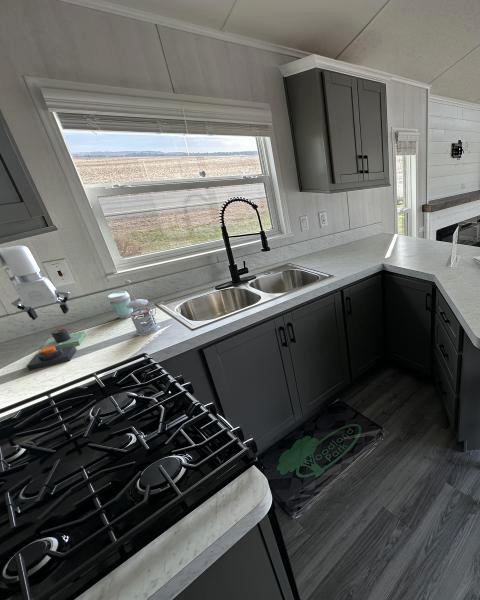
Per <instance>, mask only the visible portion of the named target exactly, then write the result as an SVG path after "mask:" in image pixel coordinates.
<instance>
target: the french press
mask: <svg viewBox="0 0 480 600" xmlns="http://www.w3.org/2000/svg"><path fill="white" fill-rule="evenodd" d="M131 282H132V281H131V280H130V279H126V280H125V281H124V283H125V284H128V286H129V289H130V291H131V293H132V296H133V298H134V300H130V301H131V302H129V303H128V304H127V305H126V307H127V308H129V309H130V308H132V309H135V310H133V312H132V313H131V315H132V316H131V317H130V318H131V320H132V324H133V325H134V328H135V330H136V331H135V333H134V335H135V334H136V335H135V336H137V335H139V336H138V337H142V336H141V335H144V336H148V334H149V335H151V333H152V334H154V333H156V332H158V331H159V330H160V329H161V328H160V327H161V326H160V325H159V324H158V323H157V320H156V319H155V316H156V313H157V308H156V306H155V304H154V303H153V302H150V301H149V300H148V299H142V298H139V299H136V297H135V295H134V292H133V290H132V288H131V284H130V283H131ZM144 306H146V307H144ZM147 306H148V307H149V306H150V307H151V309H150V308H148V307H147ZM141 307H143V308H141ZM151 310H152V311H151ZM154 310H155V312H154ZM153 313H154V314H153ZM159 328H160V329H159ZM158 329H159V330H158ZM157 330H158V331H157ZM155 331H156V332H155Z"/></svg>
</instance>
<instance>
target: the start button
mask: <svg viewBox="0 0 480 600" xmlns="http://www.w3.org/2000/svg"><path fill="white" fill-rule="evenodd" d="M55 351H57V350H56V348H55V346H49V347H46V348H44V349H42V350H41V349H40V352H41V353H42V354H43V355H47V354H51V353H53V352H55Z"/></svg>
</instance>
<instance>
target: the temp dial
mask: <svg viewBox="0 0 480 600" xmlns="http://www.w3.org/2000/svg"><path fill="white" fill-rule="evenodd" d="M69 334H70V333H69V331H68V328H67V327H59V328H56V329H54V330H52V331H50V335H51V337H52V338H54V340H55V341H56V342H57V343H59V342H64V341H67V340H69V339H70V338H71V337H70V335H69Z"/></svg>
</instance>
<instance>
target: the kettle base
mask: <svg viewBox="0 0 480 600" xmlns="http://www.w3.org/2000/svg"><path fill="white" fill-rule="evenodd" d="M76 347H77V346H71V347H67V348H61V347H55V348H56V350H57V351H55V352H53V353H51V354H47V355H43V354H42V353H41V351H39V352H38V353H36V354H35V355H34V356H33V357H32V358H31V359H30V361H29V362H28V363H27V364H26V368H27V369H28V371H33V370H37V369H41V368H47V367H50V366H51V367H52V366H55V365H58V364H63V363H67V362H71V361H72V359H73V357H74V355H75V354H76V352H77V350H78V349H77V348H76Z"/></svg>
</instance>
